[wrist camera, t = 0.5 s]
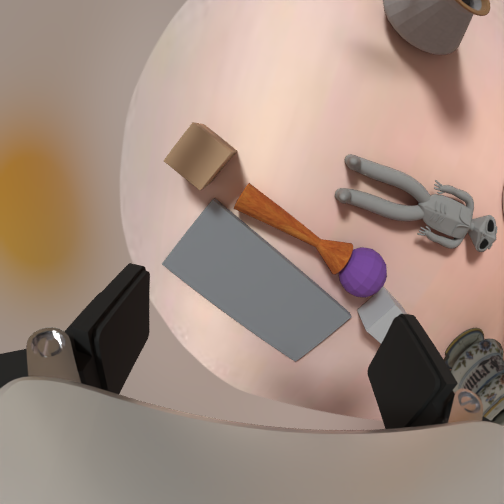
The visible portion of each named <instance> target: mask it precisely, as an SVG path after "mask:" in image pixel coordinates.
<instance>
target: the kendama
mask: <svg viewBox="0 0 504 504" xmlns="http://www.w3.org/2000/svg"><path fill="white" fill-rule="evenodd" d="M234 209H236V210H238V211H240V212H242V213H245V214H247V215H249V216H251V217H253V218H255V219H258V220H260V221H262V222H264V223H266V224H268V225H270V226H272V227H275V228H277V229H279V230H281V231H283V232H285V233H287V234H289V235H291V236H294V237H296V238H298V239H300V240H302V241H304V242H306V243H308V244H310V245H312V246H314V247H316V248H317V250H318V251H319V253H320V255H321V256H322V258H323V259H324V261H325V263H326V264H327V266H328V267H329V269H330V271H331V272H332V274H337V273H339V278H340V282H341V284H342V286H343V287H344V289H345V290H346V291H347V292H349V293H350V294H352V295H354V296H357V297H368V296H371V295H373V294H376V293H377V292H378V291H379V290H380V289H381V288H382V287H383V285H384V283H385V281H386V277H387V273H386V264H385V262H384V260H383V258H382V257H381V256H380V254H379V253H377V252H376V251H374V250H373V249H369V248H357V249H354V250H353V245H352V243H344V242H337V241H330V240H323V239H320V238H319V237H317V236H316V235H315V234H314V233H313V232H311V231H310V230H309V229H308V228H306V227H305V226H304V225H303V224H301V223H300V222H299V221H298V220H296V219H295V218H294V217H293V216H291V215H290V214H289V213H287V212H286V211H285V210H284V209H282V208H281V207H280V206H278V205H277V204H276V203H275V202H273V201H272V200H271V199H269V198H268V197H267V196H265V195H264V194H263V193H262V192H260V191H259V190H258V189H256V188H255V187H254V186H252V185H251V184H250V183H249V184H248V185H247V186H246V187H245V189H244V190H243V192H242V194H241V195H240V197H239V199H238V200H237V202H236V204H235V206H234Z"/></svg>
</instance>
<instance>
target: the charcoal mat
mask: <svg viewBox="0 0 504 504" xmlns="http://www.w3.org/2000/svg"><path fill="white" fill-rule="evenodd" d="M162 265H163V266H165V267H166V268H167V269H168V270H170V271H171V272H172V273H174V274H175V275H176V276H177V277H179V278H180V279H181V280H182V281H184V282H185V283H186V284H188V285H189V286H190V287H191V288H193V289H194V290H195V291H197V292H198V293H199V294H201V295H202V296H203V297H205V298H206V299H207V300H209V301H210V302H211V303H213V304H214V305H215V306H217V307H218V308H219V309H221V310H222V311H223V312H225V313H226V314H227V315H229V316H230V317H232V318H233V319H234V320H236V321H237V322H238V323H240V324H241V325H243V326H244V327H245V328H247V329H248V330H250V331H251V332H253V333H254V334H255V335H257V336H258V337H260V338H261V339H263V340H264V341H265V342H267V343H268V344H270V345H271V346H273V347H274V348H276V349H277V350H279V351H280V352H282V353H283V354H285V355H286V356H288V357H289V358H291V359H292V360H294V361H295V362H296V361H297V360H299V359H300V358H301V357H302V356H304V355H305V354H306V353H308V352H309V351H310V350H312V349H313V348H314V347H315V346H317V345H318V344H319V343H320V342H322V341H323V340H324V339H325V338H327V337H328V336H329V335H330V334H332V333H333V332H334V331H335V330H336V329H338V328H339V327H340V326H341V325H342V324H344V323H345V322H346V321H347V320H348V319H350V318H351V314H350V312H348V311H347V310H346V309H345V308H344V307H343V306H341V305H340V304H339V303H338V302H337V301H336V300H335V299H333V298H332V297H331V296H330V295H329V294H328V293H326V292H325V291H324V290H323V289H322V288H321V287H320V286H318V285H317V284H316V283H315V282H314V281H313V280H311V279H310V278H309V277H308V276H307V275H306V274H304V273H303V272H302V271H301V270H300V269H298V268H297V267H296V266H295V265H294V264H293V263H291V262H290V261H289V260H288V259H287V258H286V257H284V256H283V255H282V254H281V253H280V252H278V251H277V250H276V249H275V248H274V247H273V246H271V245H270V244H269V243H268V242H267V241H265V240H264V239H263V238H262V237H261V236H259V235H258V234H257V233H256V232H255V231H254V230H252V229H251V228H250V227H249V226H248V225H246V224H245V223H244V222H243V221H242V220H240V219H239V218H238V217H237V216H236V215H234V214H233V213H232V212H231V211H230V210H228V209H227V208H226V207H225V206H223V205H222V204H221V203H220V202H219V201H217V200H216V199H215V198H214V199H213V200H212V201H211V202H210V203H209V205H208V206H207V207H206V208H205V210H204V211H203V212H202V213H201V214H200V216H199V217H198V218H197V219H196V221H195V222H194V223H193V224H192V226H191V227H190V228H189V229H188V231H187V232H186V233H185V235H184V236H183V237H182V238H181V240H180V241H179V242H178V244H177V245H176V246H175V247H174V249H173V250H172V251H171V253H170V254H169V255H168V257H167V258H166V259H165V261H164V262H163V263H162Z"/></svg>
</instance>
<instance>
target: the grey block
mask: <svg viewBox="0 0 504 504" xmlns="http://www.w3.org/2000/svg"><path fill="white" fill-rule="evenodd" d="M357 311H358V313H359V315H360V318H361V320H362V322H363V325H364V327H365V329H366V331H367V332H368V333H369V334H370V335H372V336H373V337H374V338H375V339H376V340H377V341H379V342H380V343H382V341H383V339H384V338H385V336H386V334H387V332H388V330H389V328H390V326H391V324H392V321H393V320H394V318H395V317H398V315H399V314H401V313H402V314H407V313H406V312H405V310H404V309H403V307H402V306H401V304H400V303H399V302H398V301H397V300H396V299H395V298H394V297H393V296H392V295H391V294H390V293H389V292H388V291H387V290H386V288H385V287H384V286H383V287H382V288H381V289H380V290H379V291H378V292H377V293H376V294H374V295H373V296H372V297H371V298H370V299H369V300H368V301H367V302H366V303H364V304H363V305H362V306H361V307H360V308H359V309H358V310H357Z"/></svg>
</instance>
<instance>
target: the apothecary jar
mask: <svg viewBox="0 0 504 504" xmlns="http://www.w3.org/2000/svg"><path fill="white" fill-rule="evenodd" d="M445 354H446V357H445V359H444V361H445V363H446V364H447V366H448V368H449V369H452V370H451V373H452V374H453V376H454V378H455V379H456V381H457V383H458V384H457V385H456V387H455V388H454V389H453V392H456V391H457V390H459V389H468V390H470V391H472V392H474V393H475V394H476V395H477V396H478V397H479V398H480V400H481V401H482V404H483V416H484V417H486V418H487V419H489V420H491V421H492V422H494V423H496V424H499V425H501V426H503V425H504V360H503V349H502V346H501V344H500V343H499V342H498V341H496V340H494V339H484V334H483V331H482V330H481V329H479V328H472V329H469V330H467V331H465V332H463V333H462V334H460V335H459V336H458V337H457V338H456V339H455V340H454V341H453V342H452V343H451V344H450V345H449V347H448V348H447V350H446V352H445Z"/></svg>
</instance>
